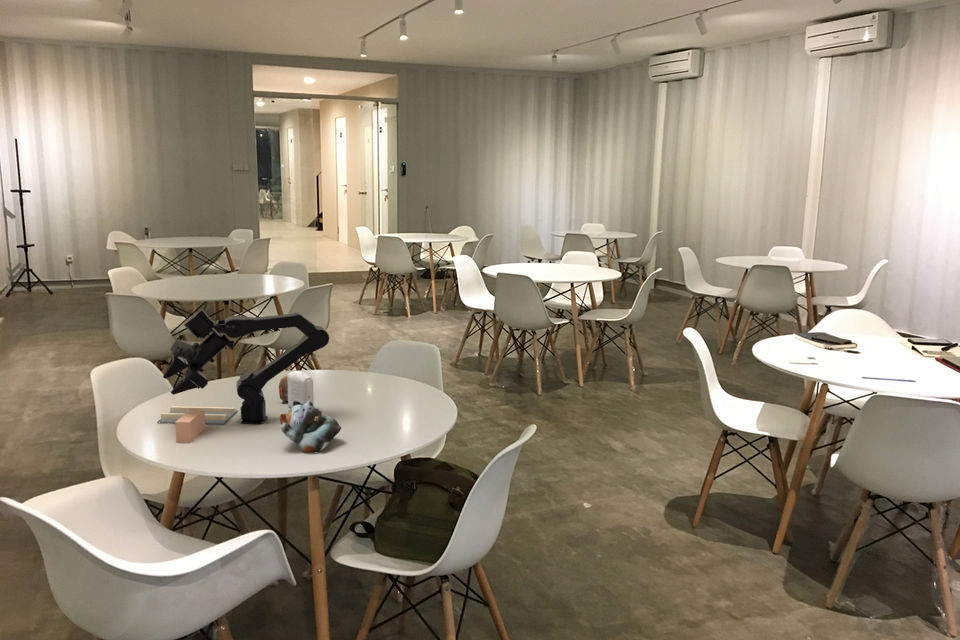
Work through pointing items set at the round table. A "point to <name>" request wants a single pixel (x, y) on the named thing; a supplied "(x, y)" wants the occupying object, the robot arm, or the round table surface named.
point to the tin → (283, 388)
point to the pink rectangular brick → (190, 425)
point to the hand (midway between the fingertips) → (167, 385)
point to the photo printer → (299, 388)
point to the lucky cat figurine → (309, 427)
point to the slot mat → (211, 414)
